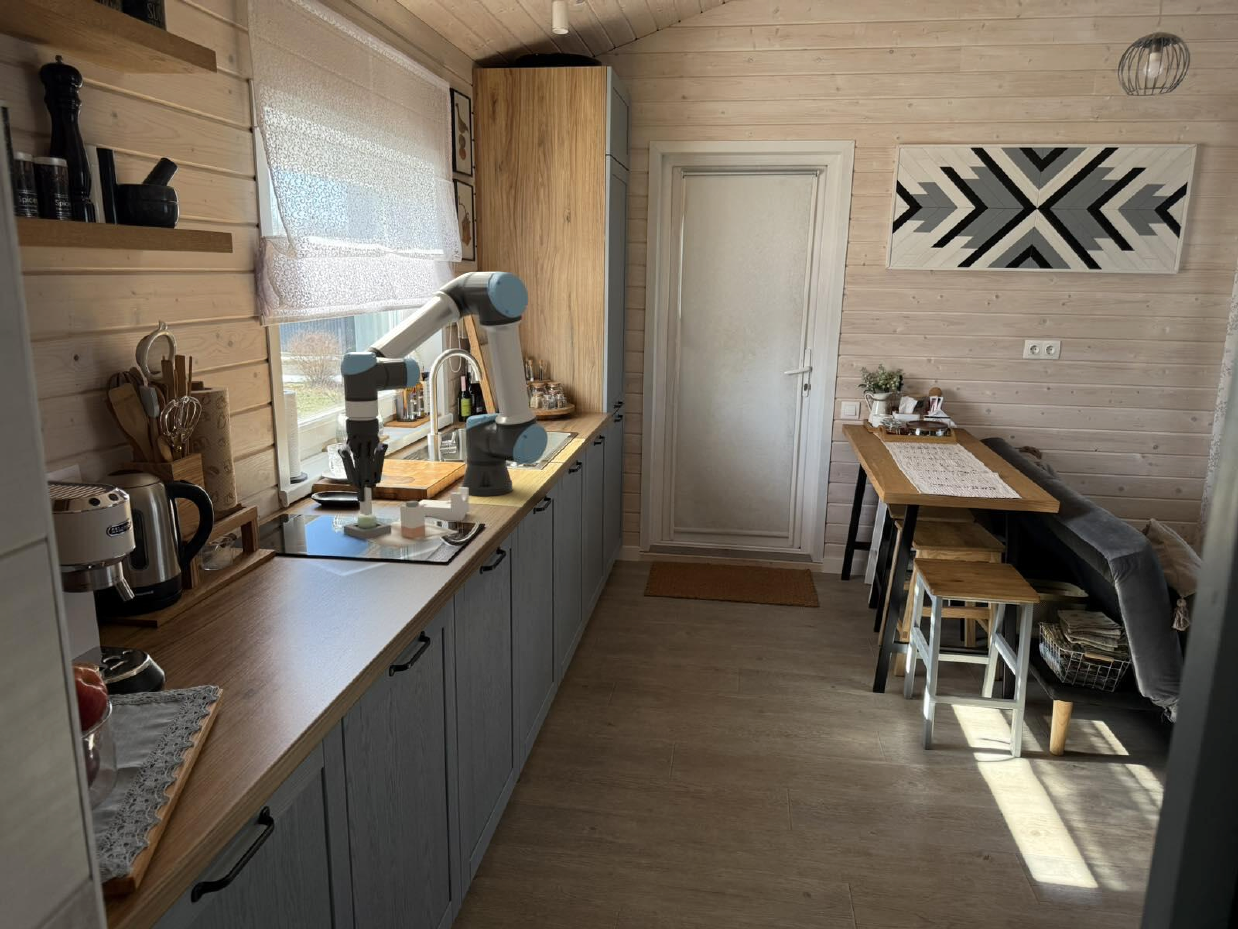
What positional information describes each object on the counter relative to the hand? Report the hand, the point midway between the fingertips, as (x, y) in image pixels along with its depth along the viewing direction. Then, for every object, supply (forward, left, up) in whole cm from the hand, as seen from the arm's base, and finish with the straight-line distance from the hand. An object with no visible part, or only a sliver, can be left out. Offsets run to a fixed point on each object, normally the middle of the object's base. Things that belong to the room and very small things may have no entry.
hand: (366, 513), depth 210 cm
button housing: (0, 0, -5) cm, 5 cm away
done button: (0, 0, -4) cm, 4 cm away
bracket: (-24, -2, -6) cm, 25 cm away
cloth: (-6, +6, -6) cm, 10 cm away
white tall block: (-6, +10, -5) cm, 13 cm away
